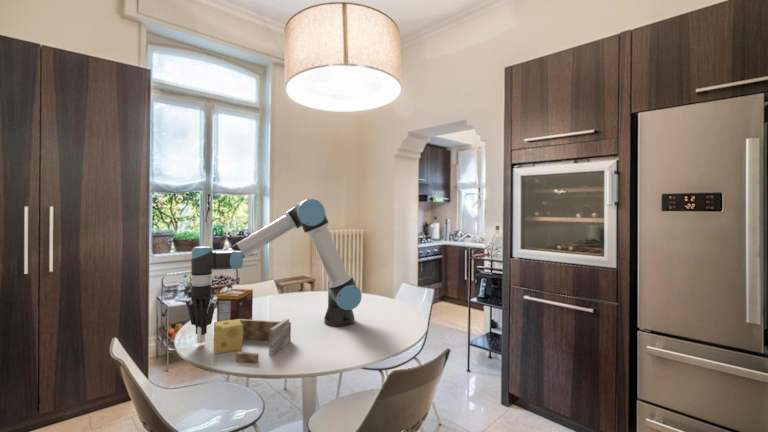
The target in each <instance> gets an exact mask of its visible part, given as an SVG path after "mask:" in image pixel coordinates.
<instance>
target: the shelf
mask: <svg viewBox="0 0 768 432" xmlns="http://www.w3.org/2000/svg"><path fill="white" fill-rule="evenodd" d="M240 322H241V324H242V325H243V340H256V341H266V342H268V356H271V357H272V356H274V355H276V354H277V353H278V352H279V351H280V350H282V349H283V348H284V347H285V346H287V344H289V343H290V342H292V341H291V339H292V337H291V334H292V333H291V331H292V330H291V329H292V327H291V326H292V325H291V324H292V322H290V318H285V319H283V320H281V321H274V320H264V319H262V320H260V319H252V320H248V319H240ZM235 362H237V363H239V362H240V363H250V364H251V363H252V364H258V363H259V353H258V352H257V353H256V352H248V351H247V352H245V351H236V353H235Z"/></svg>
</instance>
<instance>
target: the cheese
mask: <svg viewBox="0 0 768 432" xmlns="http://www.w3.org/2000/svg"><path fill="white" fill-rule="evenodd" d="M243 340H244V339H243V325H242V324H241V322H240V319H235V320H228V321H219V322H217V321H214V322H213V346H214V347H213V353H214V354H215V355H216V354H217V355H218V354H221V353H227V352H228V353H229V352H234V351H235V352H238V351H241V350H242V348H243V347H242V345H243Z"/></svg>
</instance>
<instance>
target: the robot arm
mask: <svg viewBox="0 0 768 432" xmlns="http://www.w3.org/2000/svg"><path fill="white" fill-rule="evenodd" d="M328 225H329V221H328V218H327V215H326V209H325V207H324V205H323V204H322V203H321V201H319V200H317V199H315V198H306V199H304V200H301V201H299V202H298V203H297V204H295V205H294V206H293V207H292V208H290V209H288V210H287V211H285V214H284V215H282V216H281V217H279V218H277V219H276V220H274V221H272V222H270V223H269V224H267V225H265V226H264V227H262V228H260V229H258V230H257V231H254V232H253V233H252V234H249V235H248V236H246V237H245V238H243V239H240V241H237V242H236V243H235V244H233V245H230V247H226V248H225V249H223V250H221V251H220V250H219V251H217V250H216V251H215V250H213V247H212V246H201V245H200V246H194V247H193V248H192V249H191V258H190V259H191V260H190V261H191V265H190V268H191V271H190V273H191V275H190V276H191V277H190V279H191V280H190V282H191V283H190V284H191V286H190V290H191V291H190V294H191V297H190V299H189V300H187V301H185V305H186V306H187V309H188V316H189V319H190V325H191V326H193V325H194V326H195V334H196V336H197V337H196V342H197V344H203V343H204V342H205V341H206V334H207V330H208V329H207V327H208V326H209V325H212V322H213V317H214V313H215V308H216V306H217V301H214V300H213V297H212V293H213V292H212V291H213V289H212V288H213V285H212V282H213V270H236V269H242V268H243V266H244V259H245V258H246V257H248V256H249V255H251V254H253V253H254V252H257V251H258V250H260V249H261V248H263V247H265V246H267V245H268V244H269V243H272V242H273V241H275V240H278V239H279V238H281V236H283V235H285V234H287V233H289V232H290V231H292V230H297V229H299V228H301V227H302V230H303V232H304V233H305V234H307V235H309V237H310V239H311V242H312V244H313V246H314V248H315V251H316V253H317V255H318V257H319V260H320V262H321V264H322V266H323V268H324V271H325V273H326V275H327V277H328V282H327V285H328V286H327V289H328V290H327V298H328V299H327V309H326V312H325V314H324V315H325V316H324V321H323V323H324V324H325V325H327V326H331V327H347V325H348V326H351V325H353V324H354V323H355V322H354V321H355V319H356V318H355V314H354V311H353V310H354V309H355V308H357V307H358V306H359V305H360V303H361V301H362V292H361V291H362V290H361V289H360V288H359V287H358V286H357V284H356V282H355V280H354V277H353V275H352V274H349V273H348V272H347V270H346V267H345V266H344V263H343V261H342V258H341V255H340V254H339V251H338V248H337V247H336V245H335V242H334V240H333V238H332V235H331V233H330V231H329V229H328Z"/></svg>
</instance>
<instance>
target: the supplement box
mask: <svg viewBox="0 0 768 432" xmlns="http://www.w3.org/2000/svg"><path fill="white" fill-rule="evenodd" d="M253 290H254V289H252V288H250V289H247V288H232V289H230V290H227V291H225V292H222V293H220V294H217V295H216V296H217V299H216V302H217V305H216V306H217V307H216V322H219V321H228V320H235V319H248V320H253V297H254V296H253V294H254V293H253Z"/></svg>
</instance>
